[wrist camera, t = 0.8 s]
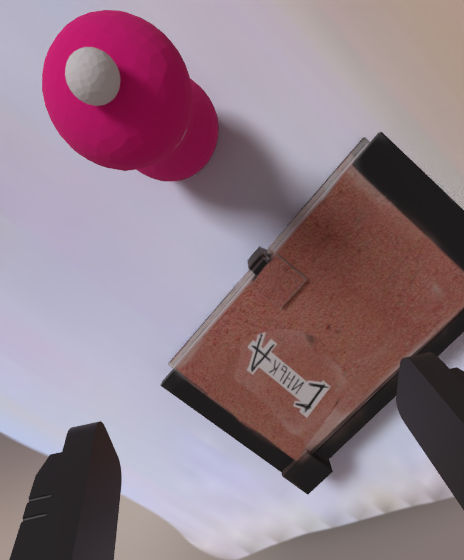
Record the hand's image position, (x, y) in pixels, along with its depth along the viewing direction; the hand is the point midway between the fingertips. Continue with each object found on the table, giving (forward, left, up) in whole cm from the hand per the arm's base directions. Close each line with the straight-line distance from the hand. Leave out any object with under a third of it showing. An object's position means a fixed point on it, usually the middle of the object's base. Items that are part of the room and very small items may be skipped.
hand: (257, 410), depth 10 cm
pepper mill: (-8, -7, -25) cm, 27 cm away
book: (+4, +9, -25) cm, 27 cm away
